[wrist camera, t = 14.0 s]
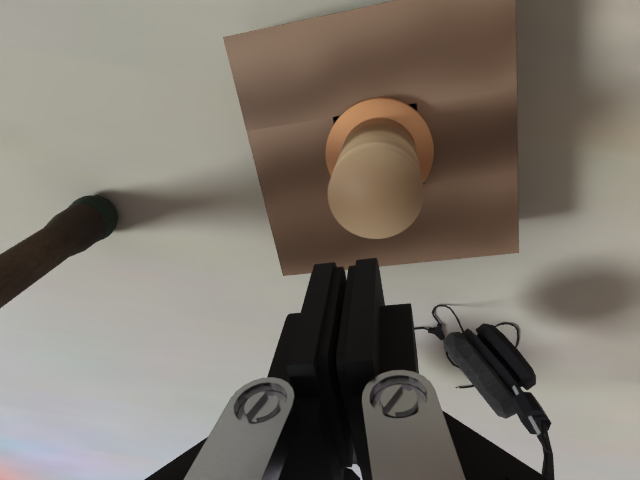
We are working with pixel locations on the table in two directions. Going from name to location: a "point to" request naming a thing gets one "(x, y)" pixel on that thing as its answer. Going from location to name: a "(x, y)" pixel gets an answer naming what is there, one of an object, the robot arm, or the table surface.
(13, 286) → the stick grenade
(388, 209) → the peg
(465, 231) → the socket block
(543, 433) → the headphones
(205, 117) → the table surface
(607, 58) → the table surface
